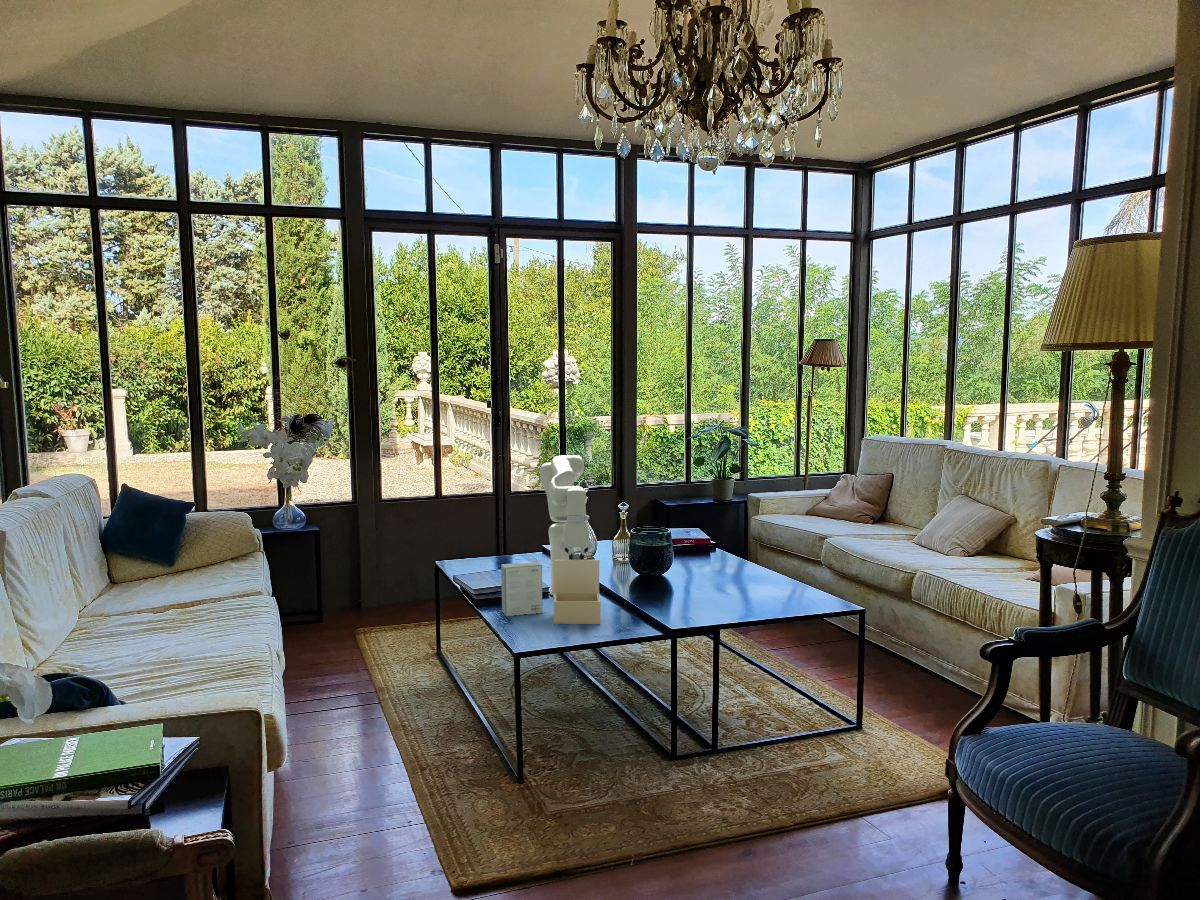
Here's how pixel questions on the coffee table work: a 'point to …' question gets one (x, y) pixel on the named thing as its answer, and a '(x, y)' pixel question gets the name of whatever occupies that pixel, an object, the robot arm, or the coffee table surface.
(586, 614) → the carton
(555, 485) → the robot arm
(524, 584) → the hard drive box
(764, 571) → the coffee table surface
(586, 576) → the carton flap
